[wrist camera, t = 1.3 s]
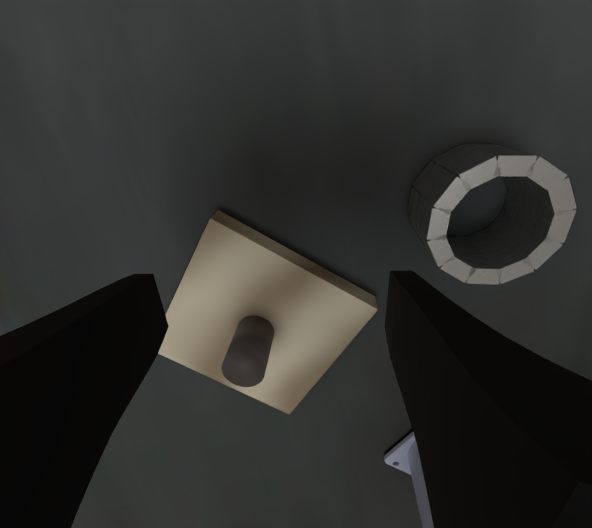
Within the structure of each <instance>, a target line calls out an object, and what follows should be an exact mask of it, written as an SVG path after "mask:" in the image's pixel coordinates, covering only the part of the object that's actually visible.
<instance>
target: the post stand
mask: <svg viewBox="0 0 592 528" xmlns="http://www.w3.org/2000/svg"><path fill="white" fill-rule="evenodd" d="M377 310H378V307H377V303H376V299H375V296H374V295H372V294H370V293H368V292H366V291H365V290H363V289H361V288H359V287H357V286H356V285H354V284H352V283H350V282H348V281H346V280H345V279H343V278H341V277H339V276H337V275H336V274H334V273H332V272H330V271H328V270H326V269H325V268H323V267H321V266H319V265H317V264H316V263H314V262H312V261H310V260H308V259H306V258H305V257H303V256H301V255H299V254H297V253H296V252H294V251H292V250H290V249H288V248H287V247H285V246H283V245H281V244H279V243H277V242H276V241H274V240H272V239H270V238H268V237H267V236H265V235H263V234H261V233H259V232H257V231H256V230H254V229H252V228H250V227H248V226H247V225H245V224H243V223H241V222H239V221H237V220H236V219H234V218H232V217H230V216H228V215H227V214H225V213H223V212H221V211H219V210H218V211H217V212H216V213H215V214H214V215H213V216H212V217H211V218H210V220H209V222H208V224H207V226H206V228H205V231H204V233H203V235H202V237H201V239H200V241H199V244H198V246H197V248H196V250H195V252H194V255H193V257H192V259H191V261H190V263H189V265H188V268H187V270H186V272H185V274H184V276H183V278H182V281H181V283H180V285H179V287H178V289H177V291H176V294H175V296H174V298H173V300H172V302H171V305H170V307H169V309H168V311H167V313H166V315H165V316H166V319H167V322H168V326H169V327H168V330H167V332H166V335H165V338H164V340H163V343H162V345H161V347H160V350H159V352H158V354H160V355H163V356H165V357H167V358H169V359H171V360H173V361H176V362H178V363H180V364H182V365H184V366H186V367H188V368H191V369H193V370H195V371H197V372H199V373H201V374H203V375H206V376H208V377H210V378H212V379H214V380H216V381H219V382H221V383H223V384H225V385H227V386H229V387H231V388H234V389H236V390H238V391H240V392H242V393H244V394H247V395H249V396H251V397H253V398H255V399H257V400H259V401H262V402H264V403H266V404H268V405H270V406H272V407H274V408H277V409H279V410H281V411H283V412H285V413H287V414H290V413H291V412H292V411H293V409H294V408H295V407H296V406H297V405H298V404H299V402H300V401H301V400H302V399H303V398H304V396H305V395H306V394H307V393H308V392H309V391H310V389H311V388H312V387H313V386H314V385H315V383H316V382H317V381H318V380H319V379H320V378H321V376H322V375H323V374H324V373H325V372H326V370H327V369H328V368H329V367H330V366H331V365H332V363H333V362H334V361H335V360H336V359H337V357H338V356H339V355H340V354H341V353H342V352H343V350H344V349H345V348H346V347H347V346H348V344H349V343H350V342H351V341H352V340H353V339H354V337H355V336H356V335H357V334H358V333H359V331H360V330H361V329H362V328H363V327H364V326H365V324H366V323H367V322H368V321H369V320H370V318H371V317H372V316H373V315H374V314H375V313H376V311H377Z"/></svg>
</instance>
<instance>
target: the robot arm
mask: <svg viewBox="0 0 592 528" xmlns="http://www.w3.org/2000/svg"><path fill="white" fill-rule="evenodd" d="M168 327H169V326H168V322H167V319H166V316H165V312H164V309H163V306H162V302H161V299H160V295H159V292H158V289H157V285H156V282H155V279H154V275H153V274H134V275H131V276H128V277H125V278H123V279H121V280H118V281H116V282H114V283H112V284H110V285H108V286H106V287H103V288H101V289H99V290H97V291H95V292H93V293H91V294H89V295H87V296H85V297H83V298H81V299H79V300H77V301H75V302H73V303H71V304H69V305H67V306H65V307H63V308H61V309H59V310H57V311H55V312H52V313H50V314H48V315H46V316H44V317H42V318H40V319H37V320H35V321H33V322H31V323H29V324H27V325H25V326H22V327H20V328H18V329H15V330H13V331H11V332H8V333H6V334H4V335H1V336H0V528H71V526H72V523H73V521H74V518H75V516H76V513H77V511H78V508H79V506H80V504H81V501H82V499H83V497H84V494H85V492H86V489H87V487H88V485H89V482H90V480H91V478H92V475H93V473H94V471H95V469H96V466H97V464H98V462H99V460H100V458H101V456H102V454H103V451H104V449H105V447H106V445H107V443H108V441H109V438H110V436H111V434H112V432H113V431H114V429H115V427H116V425H117V423H118V421H119V419H120V418H121V416H122V414H123V413H124V411H125V409H126V408H127V406H128V404H129V403H130V401H131V399H132V397H133V396H134V394H135V392H136V391H137V389H138V387H139V386H140V384H141V382H142V381H143V379H144V377H145V375H146V374H147V372H148V370H149V369H150V367H151V365H152V363H153V362H154V360H155V358H156V356H157V354H158V352H159V350H160V347H161V345H162V343H163V340H164V338H165V335H166V332H167V330H168ZM385 331H386V337H387V343H388V348H389V354H390V358H391V361H392V365H393V368H394V371H395V374H396V378H397V381H398V384H399V387H400V390H401V393H402V397H403V400H404V403H405V406H406V409H407V412H408V416H409V419H410V422H411V425H412V428H413V432H412V433H410V434H409V435H408V436H407V437H406V438H404V439H403V440H402V441H401V442H400V443H399V444H397V445H396V446H395V447H394V448H393V449H392V450H390V451H389V452H388V453H387V454H386V455H385V456H384V460H385V463H387V464H388V465H391V466H393V467H395V468H397V469H399V470H401V471H404V472H406V473H408V474H410V475H411V477H412V481H413V486H414V490H415V495H416V499H417V504H418V508H419V513H420V517H421V522H422V527H423V528H592V381H591V380H589V379H586V378H584V377H582V376H580V375H578V374H576V373H574V372H572V371H570V370H567V369H565V368H563V367H561V366H559V365H557V364H555V363H553V362H551V361H549V360H547V359H545V358H543V357H541V356H539V355H537V354H535V353H534V352H532V351H530V350H528V349H526V348H525V347H523V346H521V345H519V344H517V343H516V342H514V341H512V340H510V339H508V338H507V337H505V336H503V335H502V334H500V333H498V332H497V331H495V330H494V329H492V328H490V327H489V326H487V325H486V324H484V323H483V322H481V321H480V320H478V319H477V318H475V317H474V316H472V315H471V314H469V313H468V312H466V311H465V310H464V309H462V308H461V307H459V306H458V305H457V304H455V303H454V302H452V301H451V300H450V299H448V298H447V297H446V296H444V295H443V294H442V293H441V292H439V291H438V290H437V289H435V288H434V287H433V286H431V285H430V284H429V283H428V282H426V281H425V280H424V279H422V278H421V277H420V276H418V275H417V274H416V273H414V272H413V271H390V277H389V288H388V299H387V309H386V320H385Z"/></svg>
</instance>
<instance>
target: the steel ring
mask: <svg viewBox="0 0 592 528" xmlns="http://www.w3.org/2000/svg"><path fill="white" fill-rule="evenodd" d="M432 161H433V162H431V161H429V163H428V164H427V165H426V167H425V168H424V169H423V171H422V172H421V174H420V175H419V176H418V178H417V179H416V180H415V182H414V183H413V184H412V185H413V186H414V187H411V193H410V200H409V207H408V216H409V218H410V220H411V222H412V224H413V226H414V228H415V231H416V233H417V235H418V237H419V238H420V240H421V241H422V243H423V244H424V246H425V247H426V249H427V250H428V252H429V253H430V255H431V256H432V258H433V259H434V261H435V262H436V264H437V265H438V267H439V268H440V269H442V270H443V271H445V272H447V273H448V274H450V275H452V276H454V277H455V278H457V279H459V280H460V281H462V282H464V283H465V282H466V283H468V284H499V282H500V283H501V284H502V283H505V282H508V281H510V280H513V279H515V278H518V277H520V276H523V275H526V274H528V273H531V272H533V271H534V270H533V268H534V269H536V270H537V269H538V268H539V267H540V266H541V265H542V264H543V263H544V262H545V261H546V260H547V259H548V258H549V257H550V256H551V255H552V254H554V253H555V252H556V251H557V250H558V249H559V248H560V247H561V246H562V244H561V243H564V242H565V239H566V237H567V234H568V231H569V229H570V226H571V223H572V221H573V218H574V216H575V213H576V210H574V209H576V204H575V200H574V196H573V192H572V188H571V184H570V180H569V177H566V176H567V175H566V174H565V173H563V172H562V171H560V170H559V169H557V168H556V167H555V166H553V165H552V164H550V163H549V162H547V161H546V160H544V159H543V158H541V157H540V156H537V155H533V154H529V153H525V152H521V151H518V150H514V149H510V148H506V147H503V146H499V145H495V144H462V145H458V146H456V147H454V148H452V149H450V150H448V151H446V152H444V153H442V154H441V155H439V156H437V157H435V158H433V159H432ZM497 176H504V179H505V182H506V185H507V188H508V193H507V197H506V200H505V204H504V208H503V211H502V212H501V213H500V214H499V216H498V217H497V218H496V219H495V220H494V221H493V222H492V223H491V224H490V225H489V227H488V228H486V229H484V230H481V231H479V232H477V233H475V234H472V235H470V236H468V237H446V234H447V229H448V224H449V219H450V214H451V212H452V210H453V209H454V208H455V207H456V206H457V204H458V203H459V202H460V201H461V199H462V198H463V197H464V196H465V195H466V193H467V192H468V191H469V190H470V189H472V188H474V187H476V186H479V185H481V184H483V183H485V182H487V181H489V180H491V179H493V178H495V177H497Z"/></svg>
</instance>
